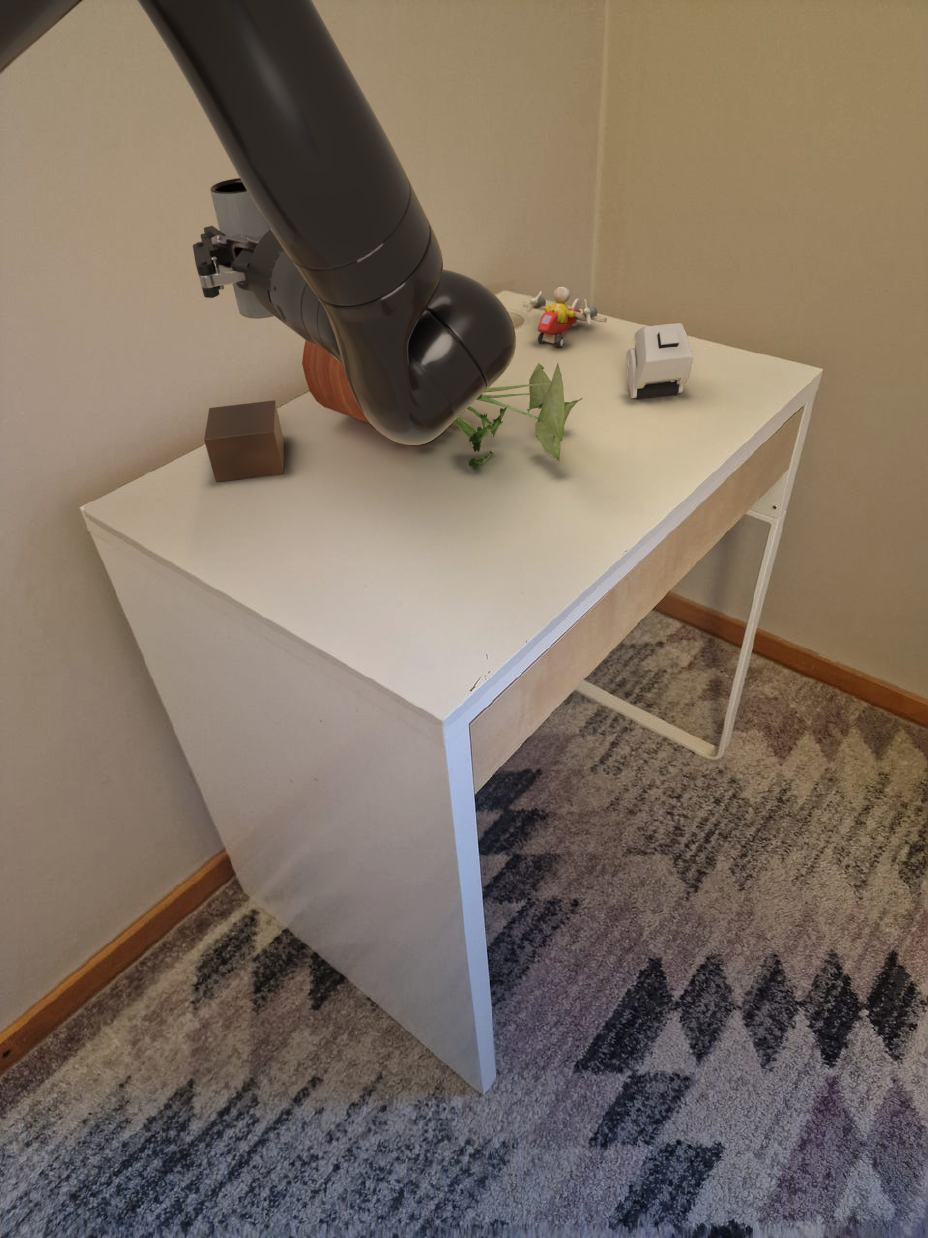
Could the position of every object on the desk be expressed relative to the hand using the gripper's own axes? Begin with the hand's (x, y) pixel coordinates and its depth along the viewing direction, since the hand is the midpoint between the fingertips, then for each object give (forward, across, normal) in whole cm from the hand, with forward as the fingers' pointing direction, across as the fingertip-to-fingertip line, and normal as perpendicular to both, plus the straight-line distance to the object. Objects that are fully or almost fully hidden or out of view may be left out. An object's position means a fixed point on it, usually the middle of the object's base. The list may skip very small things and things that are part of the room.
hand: (238, 232), depth 74 cm
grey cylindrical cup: (-3, 0, +6) cm, 7 cm away
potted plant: (-7, -17, +24) cm, 30 cm away
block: (+4, +3, +24) cm, 24 cm away
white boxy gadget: (-10, -41, +24) cm, 49 cm away
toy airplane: (+9, -43, +24) cm, 50 cm away
